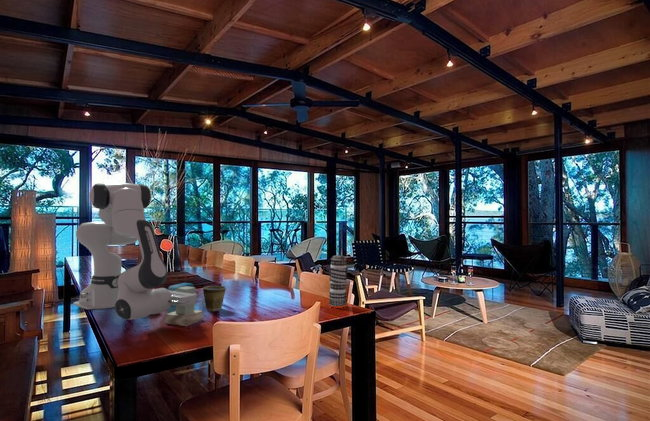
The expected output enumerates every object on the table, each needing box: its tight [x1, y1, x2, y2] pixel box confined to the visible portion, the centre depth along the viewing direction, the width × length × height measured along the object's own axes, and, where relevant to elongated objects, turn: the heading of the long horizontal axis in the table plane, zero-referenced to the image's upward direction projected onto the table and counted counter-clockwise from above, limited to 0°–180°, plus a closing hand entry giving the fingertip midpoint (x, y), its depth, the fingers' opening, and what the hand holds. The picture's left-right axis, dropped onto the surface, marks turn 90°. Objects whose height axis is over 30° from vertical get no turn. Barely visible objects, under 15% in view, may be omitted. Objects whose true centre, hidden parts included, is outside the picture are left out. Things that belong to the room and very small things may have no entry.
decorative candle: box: [328, 254, 348, 306], centre depth 182 cm, size 9×9×25 cm
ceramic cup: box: [202, 285, 226, 312], centre depth 171 cm, size 13×10×10 cm
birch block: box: [165, 309, 204, 327], centre depth 149 cm, size 10×10×4 cm
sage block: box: [176, 286, 196, 315], centre depth 149 cm, size 5×5×10 cm
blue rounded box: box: [166, 282, 194, 314], centre depth 165 cm, size 12×4×12 cm, turn 162°
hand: (186, 293), depth 150 cm, fingers open, 8 cm apart
